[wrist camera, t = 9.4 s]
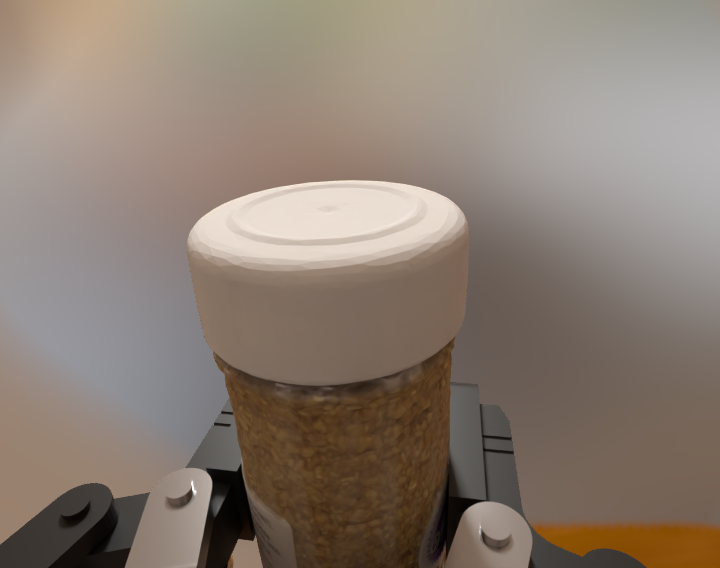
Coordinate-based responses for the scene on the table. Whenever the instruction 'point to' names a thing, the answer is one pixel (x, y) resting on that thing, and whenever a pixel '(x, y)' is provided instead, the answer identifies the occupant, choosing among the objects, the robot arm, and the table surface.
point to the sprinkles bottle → (338, 364)
